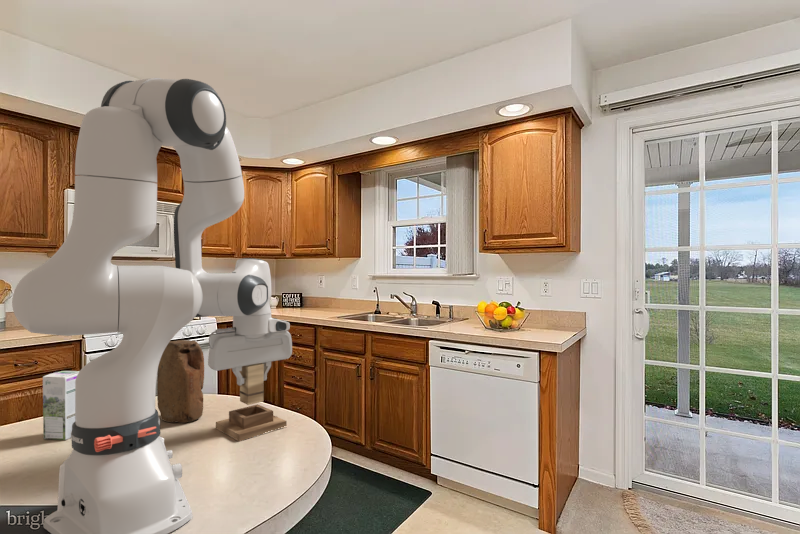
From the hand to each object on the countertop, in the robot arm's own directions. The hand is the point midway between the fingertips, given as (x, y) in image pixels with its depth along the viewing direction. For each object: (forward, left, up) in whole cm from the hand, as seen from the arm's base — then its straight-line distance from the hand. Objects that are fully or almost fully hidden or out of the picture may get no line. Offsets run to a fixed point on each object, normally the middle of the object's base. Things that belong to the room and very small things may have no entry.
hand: (252, 382), depth 106 cm
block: (+19, +9, -11) cm, 24 cm away
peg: (0, 0, -5) cm, 5 cm away
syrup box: (+27, +32, -11) cm, 43 cm away
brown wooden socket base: (0, 0, -11) cm, 11 cm away
